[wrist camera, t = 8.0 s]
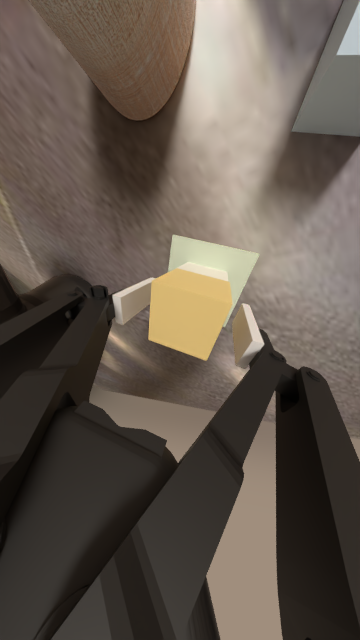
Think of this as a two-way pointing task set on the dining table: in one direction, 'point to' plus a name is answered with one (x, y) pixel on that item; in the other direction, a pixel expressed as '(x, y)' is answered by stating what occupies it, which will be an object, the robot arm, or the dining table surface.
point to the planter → (126, 47)
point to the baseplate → (213, 263)
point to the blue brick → (335, 81)
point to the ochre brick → (188, 311)
